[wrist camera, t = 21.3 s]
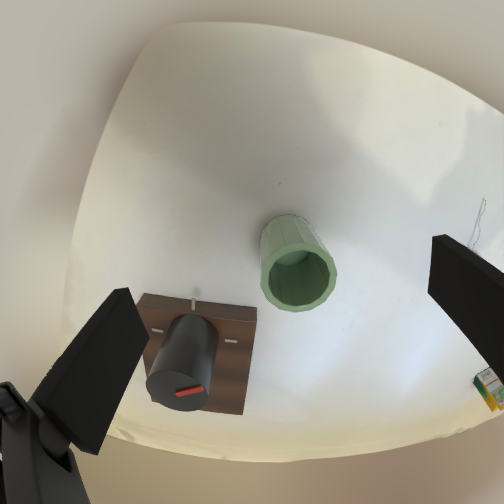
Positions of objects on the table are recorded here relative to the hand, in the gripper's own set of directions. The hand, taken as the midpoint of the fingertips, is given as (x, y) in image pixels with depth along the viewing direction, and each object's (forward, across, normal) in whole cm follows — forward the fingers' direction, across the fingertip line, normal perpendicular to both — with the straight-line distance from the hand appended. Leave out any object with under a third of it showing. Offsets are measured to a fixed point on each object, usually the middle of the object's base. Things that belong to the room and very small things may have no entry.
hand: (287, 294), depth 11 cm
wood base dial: (+19, -13, -18) cm, 29 cm away
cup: (+19, +1, -5) cm, 19 cm away
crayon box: (+19, +42, -42) cm, 62 cm away
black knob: (+16, -11, -13) cm, 23 cm away
